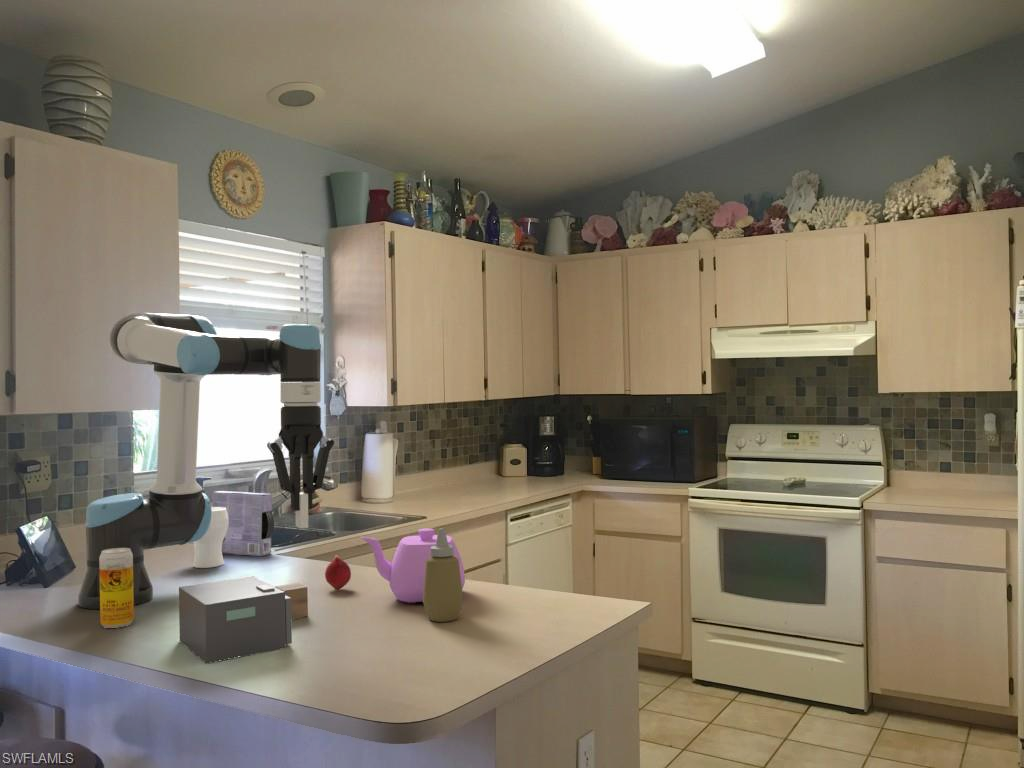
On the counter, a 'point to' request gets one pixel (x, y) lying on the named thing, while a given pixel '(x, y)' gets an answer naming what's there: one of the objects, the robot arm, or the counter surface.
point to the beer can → (116, 587)
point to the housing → (232, 618)
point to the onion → (338, 573)
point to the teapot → (410, 564)
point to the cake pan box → (246, 522)
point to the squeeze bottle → (442, 582)
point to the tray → (288, 620)
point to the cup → (212, 540)
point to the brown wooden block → (296, 598)
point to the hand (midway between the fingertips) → (301, 526)
